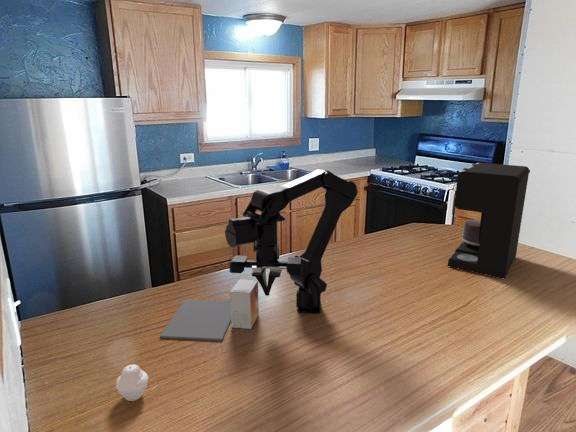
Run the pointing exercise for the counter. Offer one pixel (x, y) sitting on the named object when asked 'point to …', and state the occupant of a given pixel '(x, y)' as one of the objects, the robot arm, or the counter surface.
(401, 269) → the counter surface
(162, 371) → the counter surface
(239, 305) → the small box
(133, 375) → the muffin
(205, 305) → the mat
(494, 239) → the coffee maker
